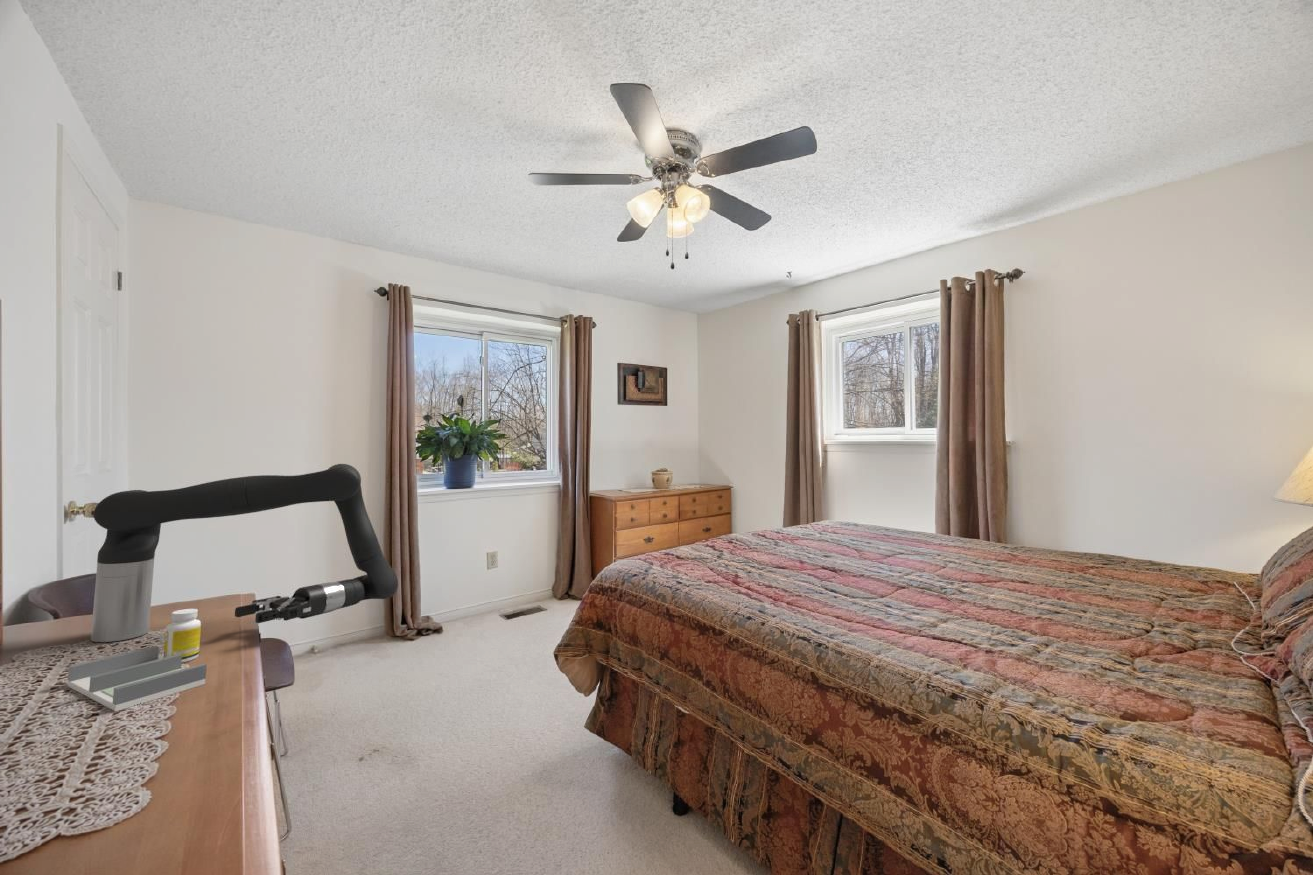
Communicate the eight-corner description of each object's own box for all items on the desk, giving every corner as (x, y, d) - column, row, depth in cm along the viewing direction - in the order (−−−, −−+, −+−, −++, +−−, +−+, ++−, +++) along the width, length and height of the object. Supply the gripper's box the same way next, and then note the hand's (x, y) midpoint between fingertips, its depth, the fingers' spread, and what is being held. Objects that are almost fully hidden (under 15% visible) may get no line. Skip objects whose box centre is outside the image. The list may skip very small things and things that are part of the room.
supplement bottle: (206, 655, 108) (209, 608, 108) (179, 665, 103) (183, 615, 103) (182, 653, 108) (186, 606, 109) (155, 663, 103) (159, 614, 104)
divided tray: (67, 685, 92) (68, 665, 92) (154, 663, 103) (156, 645, 103) (115, 711, 84) (117, 689, 84) (205, 683, 95) (206, 664, 95)
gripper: (303, 580, 134) (229, 594, 119) (337, 587, 127) (264, 603, 113) (301, 610, 133) (227, 627, 119) (336, 618, 127) (262, 637, 112)
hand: (245, 615), depth 116 cm, fingers open, 8 cm apart
